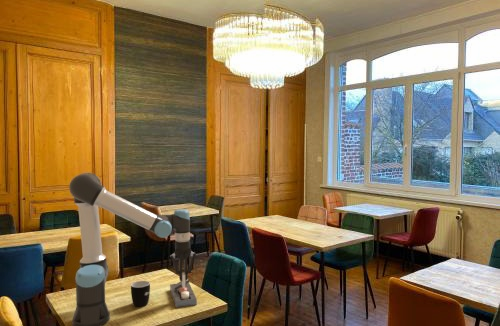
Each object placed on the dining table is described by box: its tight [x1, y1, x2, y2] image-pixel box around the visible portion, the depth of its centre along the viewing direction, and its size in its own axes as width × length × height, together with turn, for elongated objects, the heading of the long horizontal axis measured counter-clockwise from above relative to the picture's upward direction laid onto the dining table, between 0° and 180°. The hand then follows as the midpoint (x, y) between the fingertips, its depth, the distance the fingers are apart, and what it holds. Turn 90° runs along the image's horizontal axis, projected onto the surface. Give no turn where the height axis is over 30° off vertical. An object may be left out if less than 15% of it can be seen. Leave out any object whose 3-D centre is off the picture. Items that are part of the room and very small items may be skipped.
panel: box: [169, 282, 198, 308], centre depth 191 cm, size 10×24×5 cm, turn 18°
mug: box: [130, 280, 151, 308], centre depth 184 cm, size 12×9×10 cm
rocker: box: [174, 277, 190, 290], centre depth 195 cm, size 8×4×1 cm, turn 108°
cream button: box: [181, 291, 189, 300], centre depth 183 cm, size 4×4×3 cm
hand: (183, 286), depth 189 cm, fingers closed
